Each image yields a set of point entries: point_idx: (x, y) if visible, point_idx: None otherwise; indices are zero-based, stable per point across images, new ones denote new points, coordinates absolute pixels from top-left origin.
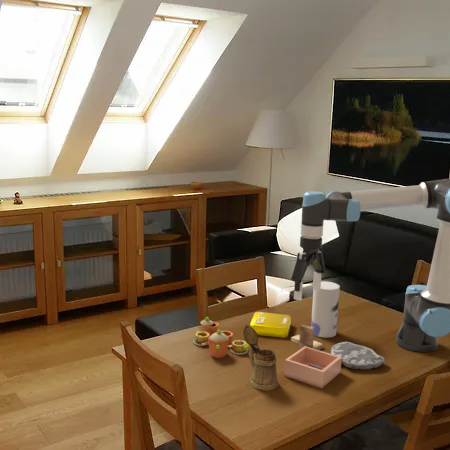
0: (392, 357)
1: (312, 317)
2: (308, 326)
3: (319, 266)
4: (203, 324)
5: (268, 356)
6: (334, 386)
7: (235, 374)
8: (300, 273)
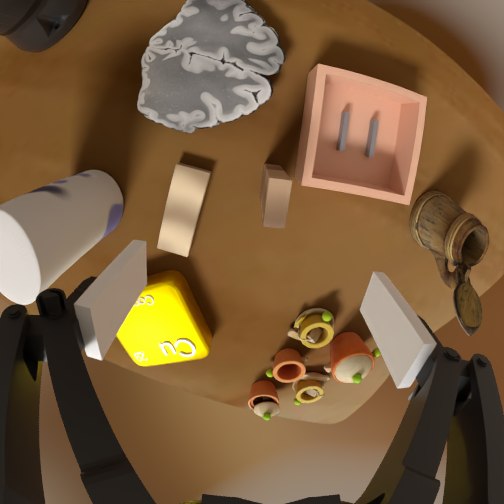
0: (139, 7)
1: (95, 243)
2: (272, 200)
3: (77, 375)
4: (279, 410)
5: (486, 233)
6: (378, 75)
7: (411, 282)
8: (487, 400)
